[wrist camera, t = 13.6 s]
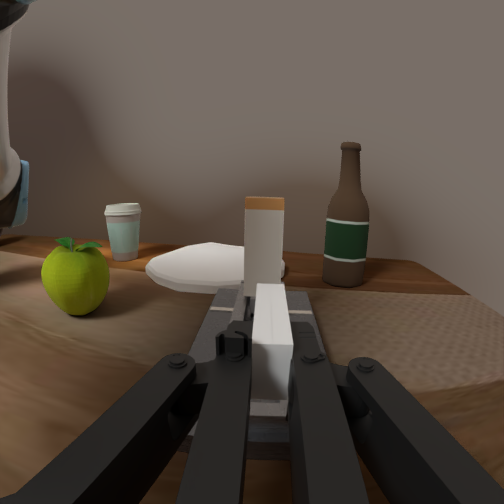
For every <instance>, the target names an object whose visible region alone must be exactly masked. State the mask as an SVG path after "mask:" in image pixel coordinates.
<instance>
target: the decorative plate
mask: <svg viewBox="0 0 504 504" xmlns="http://www.w3.org/2000/svg"><path fill="white" fill-rule="evenodd" d="M284 270H285V262H284V261H283V260H282V267H281V278H282V277H283V276H284ZM146 274H147V275H148V276H149V277H150V278H151V279H152V280H153V281H154V282H155V283H157V284H159V285H162V286H165V287H167V288H170V289H173V290H175V291H179V292H192V293H206V294H216V293H217V291H218V289H219V288H226V289H239V287H240V284H241V280H244V247H242V246H232V245H225V244H219V243H213V242H209V243H204V244H197V245H191V246H186V247H183V248H180V249H177V250H174V251H171V252H168V253H166V254H163V255H160V256H157V257H154V258H152V259H151V260H150V261H149V263H148V264H147V265H146Z"/></svg>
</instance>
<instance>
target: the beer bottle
mask: <svg viewBox="0 0 504 504" xmlns="http://www.w3.org/2000/svg"><path fill="white" fill-rule="evenodd" d="M341 150H342V161H341V172H340V181H339V187H338V190H337V191H336V193H335V194H334V196H333V197H332V199H331V201H330V204H329V206H328V212H327V222H326V237H325V251H324V262H323V281H324V282H326V283H328V284H330V285H332V286H337V287H345V288H352V287H356V286H361V284H362V281H363V275H364V268H365V260H366V251H367V240H368V229H369V208H368V204H367V201H366V199H365V197H364V195H363V193H362V191H361V182H360V153H359V152H360V151H361V146H360V144H359V143H355V142H343V143H342V144H341Z"/></svg>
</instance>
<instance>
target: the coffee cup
mask: <svg viewBox="0 0 504 504" xmlns="http://www.w3.org/2000/svg"><path fill="white" fill-rule="evenodd" d="M140 213H141V209H140V206H139V203H122V204H113V205H107V206H106V210H105V215H106V221H107V227H108V233H109V239H110V245H111V250H112V255H113V259H114V260H116V261H130V260H134V259H136V258H137V257H138V242H139V225H140Z"/></svg>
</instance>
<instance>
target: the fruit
mask: <svg viewBox="0 0 504 504" xmlns="http://www.w3.org/2000/svg"><path fill="white" fill-rule="evenodd" d="M55 241H58V242H59V243H60V244H61V245H63V246H59V247H57V248H55V249H54V250H53V251H52V252H51V253H50V254H49V255H48V256H47V258H46V259H45V261H44V263H43V266H42V271H41V276H42V282H43V285H44V287H45V290H46V292H47V293H48V295H49V297H50V298H51V299H52V301H53V302H54V303H55V304H56V305H57V306H58V307H59V308H60V309H62V310H63V311H64V312H66V313H68V314H70V315H86V314H87V313H89V312H92V311H94V310H95V309H96V308H97V307H98V306H99V305H100V304H101V302H102V301H103V299H104V297H105V295H106V293H107V290H108V286H109V268H108V264H107V262H106V260H105V258H104V256H103V255H102V253H101V252H100V251H99V250H98V249H97V248H95V247H102V246H101V245H100V244H98V243H96V242H88V243H85V244H83V245H78V244H75V245H73V244H74V240H73V239H72V238H70V237H66V238H61V239H57V240H55Z"/></svg>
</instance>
